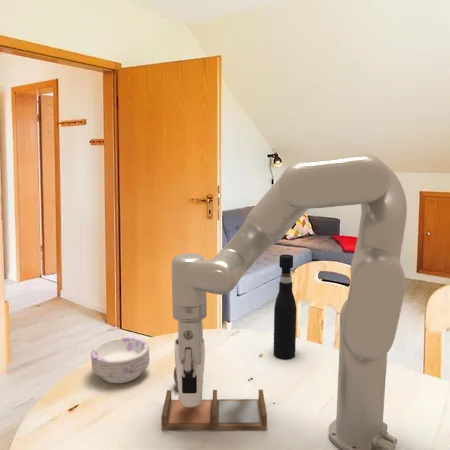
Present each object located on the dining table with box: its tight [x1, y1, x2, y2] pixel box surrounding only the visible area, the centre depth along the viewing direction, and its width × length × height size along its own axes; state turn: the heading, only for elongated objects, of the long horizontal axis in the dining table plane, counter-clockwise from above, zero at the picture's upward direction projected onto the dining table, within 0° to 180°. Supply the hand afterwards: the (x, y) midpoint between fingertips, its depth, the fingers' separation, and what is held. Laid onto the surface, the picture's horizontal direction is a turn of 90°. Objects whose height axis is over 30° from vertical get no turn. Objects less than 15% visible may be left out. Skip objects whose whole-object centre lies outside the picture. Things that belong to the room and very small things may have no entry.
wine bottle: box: [273, 254, 297, 360], centre depth 141 cm, size 6×6×30 cm
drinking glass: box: [174, 337, 206, 407], centre depth 110 cm, size 7×7×15 cm
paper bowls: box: [90, 336, 150, 384], centre depth 131 cm, size 15×15×8 cm
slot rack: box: [161, 389, 268, 432], centre depth 112 cm, size 23×11×4 cm, turn 90°
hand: (190, 384), depth 111 cm, fingers closed on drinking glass, 6 cm apart
